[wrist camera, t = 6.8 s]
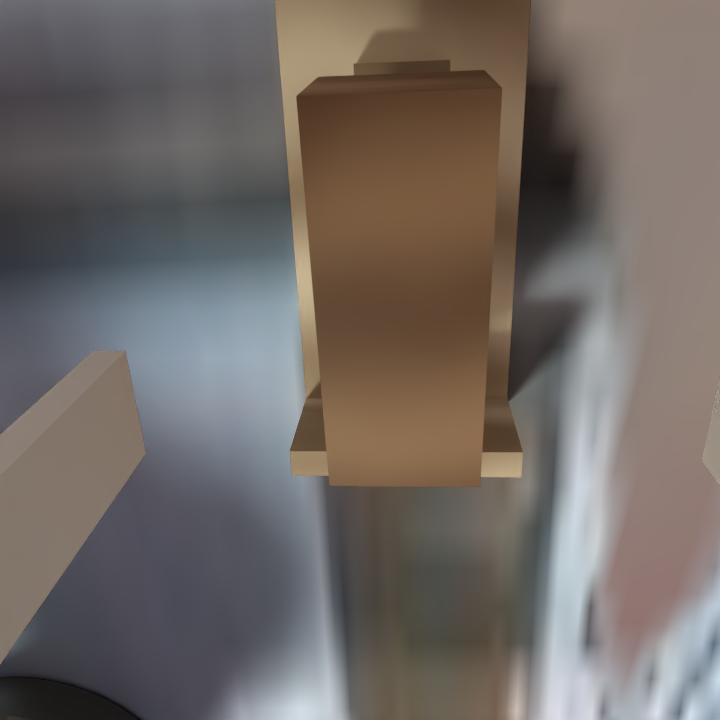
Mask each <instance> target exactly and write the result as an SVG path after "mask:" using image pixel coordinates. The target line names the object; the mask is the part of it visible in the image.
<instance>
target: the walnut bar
mask: <svg viewBox="0 0 720 720" xmlns="http://www.w3.org/2000/svg"><path fill="white" fill-rule="evenodd" d="M296 100H297V112H298V123H299V135H300V147H301V159H302V170H303V182H304V194H305V206H306V217H307V229H308V241H309V253H310V264H311V276H312V288H313V300H314V311H315V323H316V335H317V347H318V358H319V370H320V382H321V394H322V405H323V417H324V429H325V441H326V452H327V464H328V476H329V486H406V487H480V483H481V465H482V447H483V429H484V411H485V393H486V375H487V357H488V339H489V321H490V303H491V285H492V267H493V249H494V231H495V213H496V195H497V177H498V159H499V141H500V123H501V104H502V87H501V86H500V85H499V84H498V83H497V82H496V81H495V80H494V79H493V78H492V77H491V76H490V75H489V74H488V73H487V72H486V71H485V70H468V71H444V72H420V73H396V74H372V75H347V76H323V77H317V78H316V79H315V80H314V81H313V82H312V83H310V84H309V85H308V86H307V87H306V88H305V89H304V90H303V91H301V92H300V93H299V94H298V95H297V96H296Z"/></svg>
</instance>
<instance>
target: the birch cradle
mask: <svg viewBox="0 0 720 720" xmlns="http://www.w3.org/2000/svg"><path fill="white" fill-rule="evenodd" d="M530 9H531V0H275V10H276V23H277V35H278V48H279V60H280V73H281V86H282V98H283V111H284V124H285V136H286V149H287V161H288V174H289V187H290V199H291V212H292V225H293V237H294V250H295V262H296V275H297V288H298V300H299V313H300V326H301V338H302V351H303V363H304V376H305V389H306V401H305V404H304V407H303V411H302V414H301V417H300V420H299V423H298V427H297V430H296V433H295V436H294V439H293V443H292V446H291V449H290V459H291V469H292V475H302V476H328V464H327V452H326V441H325V429H324V417H323V405H322V394H321V382H320V370H319V358H318V347H317V335H316V323H315V311H314V300H313V288H312V276H311V264H310V253H309V241H308V229H307V217H306V206H305V194H304V182H303V170H302V159H301V147H300V135H299V123H298V112H297V100H296V96H297V95H298V94H299V93H300V92H301V91H303V90H304V89H305V88H306V87H307V86H308V85H309V84H310V83H312V82H313V81H314V80H315V79H316V78H317V77H323V76H347V75H372V74H396V73H420V72H444V71H468V70H485V71H486V72H487V73H488V74H489V75H490V76H491V77H492V78H493V79H494V80H495V81H496V82H497V83H498V84H499V85H500V86H501V87H502V104H501V123H500V141H499V159H498V177H497V195H496V213H495V231H494V249H493V267H492V285H491V303H490V321H489V339H488V357H487V375H486V393H485V411H484V429H483V447H482V465H481V477H521V471H522V458H523V451H522V448H521V444H520V441H519V437H518V434H517V430H516V427H515V424H514V420H513V417H512V413H511V410H510V406H509V403H508V400H507V392H508V375H509V358H510V342H511V325H512V308H513V292H514V275H515V258H516V242H517V225H518V208H519V192H520V175H521V159H522V142H523V125H524V109H525V92H526V75H527V59H528V42H529V25H530Z"/></svg>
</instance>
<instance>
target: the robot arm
mask: <svg viewBox="0 0 720 720" xmlns="http://www.w3.org/2000/svg"><path fill="white" fill-rule="evenodd" d="M145 454H146V450H145V445H144V440H143V435H142V430H141V425H140V420H139V415H138V410H137V405H136V401H135V396H134V391H133V386H132V381H131V376H130V371H129V366H128V361H127V356H126V351H92V352H91V353H90V354H89V355H88V356H87V357H86V358H85V359H84V360H82V361H81V362H80V363H79V364H78V365H77V366H76V367H75V368H74V369H72V370H71V371H70V372H69V373H68V374H67V375H66V376H65V377H64V378H62V379H61V380H60V381H59V382H58V383H57V384H56V385H55V386H54V387H52V388H51V389H50V390H49V391H48V392H47V393H46V394H45V395H44V396H42V397H41V398H40V399H39V400H38V401H37V402H36V403H35V404H34V405H32V406H31V407H30V408H29V409H28V410H27V411H26V412H25V413H24V414H22V415H21V416H20V417H19V418H18V419H17V420H16V421H15V422H14V423H12V424H11V425H10V426H9V427H8V428H7V429H6V430H5V431H4V432H2V433H1V434H0V664H1V663H2V661H3V660H4V658H5V657H6V656H7V654H8V653H9V651H10V650H11V648H12V647H13V645H14V644H15V643H16V641H17V640H18V638H19V637H20V635H21V634H22V632H23V631H24V629H25V628H26V627H27V625H28V624H29V622H30V621H31V619H32V618H33V616H34V615H35V614H36V612H37V611H38V609H39V608H40V606H41V605H42V603H43V602H44V600H45V599H46V598H47V596H48V595H49V593H50V592H51V590H52V589H53V587H54V586H55V585H56V583H57V582H58V580H59V579H60V577H61V576H62V574H63V573H64V572H65V570H66V569H67V567H68V566H69V564H70V563H71V561H72V560H73V558H74V557H75V556H76V554H77V553H78V551H79V550H80V548H81V547H82V545H83V544H84V543H85V541H86V540H87V538H88V537H89V535H90V534H91V532H92V531H93V530H94V528H95V527H96V525H97V524H98V522H99V521H100V519H101V518H102V516H103V515H104V514H105V512H106V511H107V509H108V508H109V506H110V505H111V503H112V502H113V501H114V499H115V498H116V496H117V495H118V493H119V492H120V490H121V489H122V487H123V486H124V485H125V483H126V482H127V480H128V479H129V477H130V476H131V474H132V473H133V472H134V470H135V469H136V467H137V466H138V464H139V463H140V461H141V460H142V459H143V457H144V456H145ZM702 461H703V462H704V463H705V465H706V466H707V468H708V469H709V471H710V472H711V474H712V475H713V476H714V478H715V479H716V481H717V482H718V484H719V485H720V377H719V382H718V387H717V392H716V396H715V401H714V406H713V411H712V415H711V420H710V425H709V430H708V435H707V440H706V444H705V449H704V454H703V459H702ZM0 720H137V719H136V718H135V717H133V716H132V715H131V714H129V713H128V712H126V711H125V710H123V709H122V708H120V707H118V706H117V705H115V704H113V703H111V702H109V701H107V700H105V699H103V698H101V697H99V696H97V695H94V694H92V693H90V692H87V691H84V690H82V689H79V688H76V687H72V686H69V685H65V684H62V683H57V682H52V681H47V680H41V679H32V678H0Z"/></svg>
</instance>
